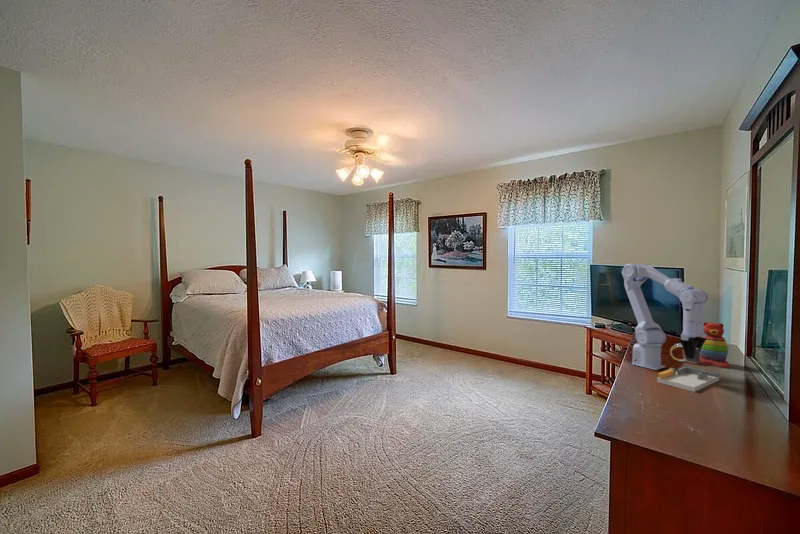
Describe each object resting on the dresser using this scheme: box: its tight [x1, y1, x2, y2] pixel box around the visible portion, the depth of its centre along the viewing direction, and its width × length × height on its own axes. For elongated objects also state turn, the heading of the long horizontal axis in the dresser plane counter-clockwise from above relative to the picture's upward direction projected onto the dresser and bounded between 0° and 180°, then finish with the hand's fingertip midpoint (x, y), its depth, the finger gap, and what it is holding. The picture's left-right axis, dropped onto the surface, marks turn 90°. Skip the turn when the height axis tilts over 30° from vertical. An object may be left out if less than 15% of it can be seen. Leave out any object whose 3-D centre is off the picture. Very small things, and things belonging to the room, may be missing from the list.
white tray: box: [656, 364, 720, 393], centre depth 129 cm, size 11×22×4 cm, turn 121°
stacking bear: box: [695, 321, 731, 369], centre depth 151 cm, size 11×10×18 cm
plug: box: [685, 348, 701, 363], centre depth 130 cm, size 4×4×5 cm
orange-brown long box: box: [657, 367, 677, 378], centre depth 130 cm, size 2×11×2 cm, turn 121°
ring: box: [669, 342, 687, 362], centre depth 155 cm, size 7×3×8 cm, turn 51°
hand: (692, 357), depth 131 cm, fingers closed on plug, 4 cm apart
